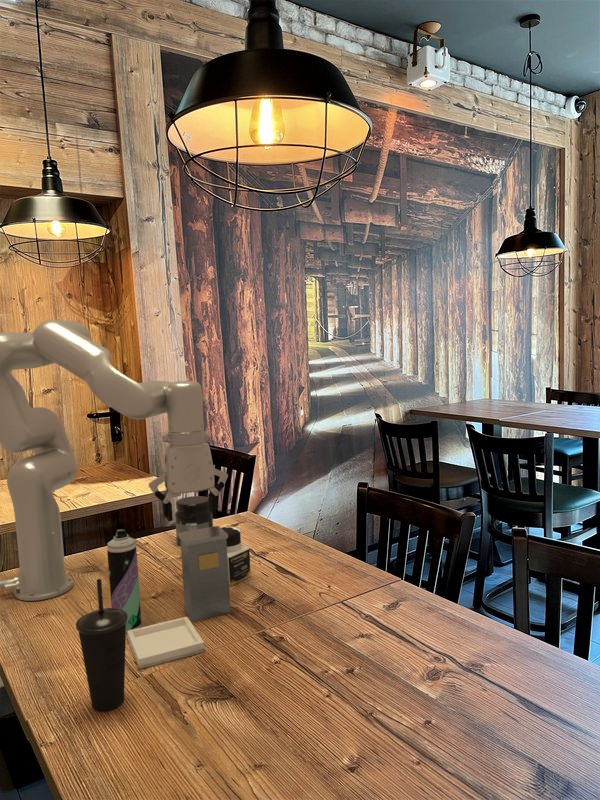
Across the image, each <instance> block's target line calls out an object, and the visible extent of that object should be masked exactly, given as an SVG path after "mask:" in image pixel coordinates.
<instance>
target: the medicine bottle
mask: <svg viewBox="0 0 600 800" xmlns="http://www.w3.org/2000/svg"><path fill="white" fill-rule="evenodd" d="M220 528H221V529H222V530H224V531H225V532H226V533H227V534H228V538H226V541H227V559H228V578H229V587H232V586H233V585H235V584H237V582H238V583H239V582H241V581H243V580H245V579H247V578H250V577H251V575H252V572H251V555H250V553H251V551H250V547H248V546H244V545H242V533H241V529H240V528H238V527H234V526H223V527H220Z"/></svg>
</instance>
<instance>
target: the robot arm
mask: <svg viewBox="0 0 600 800" xmlns="http://www.w3.org/2000/svg"><path fill="white" fill-rule="evenodd" d="M111 362H112V354H111V352H110V350H109V349H108V348H106V347H104V346H103V345H101V344H99V343H98V342H96V341H94V340H92V335H91V332H90V331H89V330H88V328H87V327H86V326H85V325H83V324H82V323H80V322H78V321H74V320H64V319H63V320H59V319H52V320H51V319H50V320H47V321H43V322H41V323H39V325H37V326H36V327H35V328H34V330H33V332H20V331H19V332H18V331H17V332H14V331H13V332H12V331H4V332H0V446H1V447H2V449H4V450H5V451H6V452H8V453H11V454H19V453H24V452H28V451H31V450H32V451H33V453H34V454H33V455H29V456H27V457H24V458H21V459H20V460H18V461H16V462H15V463H14V464H13V465H12V466H11V467H10V469H9V471H8V473H7V477H6V485H7V489H8V493H9V495H10V499H11V503H12V507H13V513H14V521H15V531H16V540H17V552H18V562H19V564H18V566H19V571H18V575H14V576H13V577H10V578H3V579H0V590H1V589H4V591H9V590H13V589H14V591H13V593H14V597H15V599H17V600H21V601H25V602H26V601H27V602H29V601H30V602H35V601H43V600H48V599H52V598H55V597H59V596H61V595H63V594H65V593H66V592H68V591H70V590H71V589H72V587H73V586H74V579H73V578H72V577H71V576H69V575H66V567H65V565H66V564H65V554H64V553H65V552H64V542H63V541H64V540H63V529H62V528H63V527H62V520H61V519H62V517H61V511H60V507H59V504H58V502H57V500H56V498H55V496H54V493H53V492H56V491H57V490H59V489H61V488H64V487H66V486H67V485H69V484H71V483H72V482H73V481H74V479H75V478H76V475H77V470H78V467H77V466H78V465H77V460H76V457H75V455H74V452H73V450H72V445H71V443H70V441H69V438H68V436H67V433H66V430H65V427H64V426H63V423H62V420H61V419H60V418H59V416H58V415H57V414H56V413H55V412H54V410H53V411H52V409H50V408H49V409H48V408H47V407H43V406H42V407H41V406H36V407H31V405H30V403H29V401H28V398H27V395H26V392H25V390H24V389H23V385H21V384H20V381H18V380H17V379H16V378H15V376H14V375H13V374H12V371H13V370H14V371H15V370H28V369H38V368H42V367H45V366H51V365H54V364H56V365H57V366H59V367H61V368H63V369H64V370H65V371H68V372H70V373H71V374H73V375H74V376H76V377H77V378H79V379H81V380H82V381H83V382H84V383H86V385H87V387H88V388H89V390H91V392H92V393H93V395H94V396H95V397H96V398H98V400H99V401H101V402H102V403H103V404H105V405H106V406H108V407H110V408H111V409H113V410H114V411H116V412H118V413H120V414H121V415H123V416H125V417H126V418H128V419H129V418H130V419H133V420H144V419H148V418H152V417H155V416H159V415H162V414H167V426H168V427H167V430H168V431H167V433H166V434H165V435H162V436H161V440H162V443H168V445H166V448H165V457H164V469H163V471H164V473H162V474H161V475H160V476H158V477H156V478H155V479H153V480H151V482H149V483H148V488H149V489H150V490H151V492H152V493H153V495H154V496H155V497H156V498H157V499H158V500H160V501H161V502H162V511H163V517H164V518H166V520H167V521H168V522H173V520H174V519H173V505H172V502H171V499H172V498H173V496H174V495H182V494H188V493H190V494H191V493H195V492H202V491H209V493H208V495H207V497H208V502H209V511H210V512H211V513H212V515H216V514H217V510H218V508H219V504H218V503H219V502H218V496H219V495H220V492H221V491H222V489H223V488H224V487H225V484H226V482H227V479H228V477H229V474H228V473H227V472H224V471H222V470H219V469H217V468H214V463H213V458H212V452H211V447H210V445H209V443H208V442H206V441H205V428H204V427H205V425H204V408H203V391H202V386H201V384H200V382H198V381H194V380H185V381H184V380H183V381H173V382H172V381H163V380H150V381H149V380H148V381H143V382H137V381H135V380H133V379H132V378H130V377H128V376H127V375H125V374H124V373H122V372H121V371H119V370H117V368H115V367H114V366H113V364H112V363H111ZM215 476H217V477H219V479H218V481H217V483H216V482H215V481H216V480H215ZM163 483H164V486H165V490H164V491H163V493H162V492H161V491H160V489H158V487H159V485H162V484H163Z"/></svg>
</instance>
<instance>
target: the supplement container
mask: <svg viewBox="0 0 600 800" xmlns="http://www.w3.org/2000/svg"><path fill="white" fill-rule="evenodd" d="M175 509H176V511H175V513H174V517H175V533H176V534H175V535H176V537H175V539H176V542H177V544H178V545H180V546H181V540H180V538H179V537H178V533H180V532H186V531H191V530H197V529H202V528H208V527H214V523H213V522H214V521H213V520H214V519H213V517H214V516H213V514H212V513H211V512H210V511H209V502H208V496H205V495H204V496H203V495H202V496H201V495H194V496H192V495H191V496H185V497H181V498H180V499H177V500H176V502H175Z"/></svg>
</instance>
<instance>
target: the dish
mask: <svg viewBox="0 0 600 800" xmlns="http://www.w3.org/2000/svg"><path fill="white" fill-rule="evenodd" d="M126 635H127V641H128V643H129V646H130V649H131V651H132V654H133V656H134V659H135V661H136V664H137V667H138V669H139V670H141V669H145V668H149V667H154V666H156V665H160V664H164V663H168V662H172V661H174V660H175V661H176V660H179V659H183V658H186V657H189V656H194V655H197V654H202V653H205V642H204V640H203V639H202V637H201V636H200V634H199V632H198V631H197V629H196V628H195V627H194V625H193V622H192V621H191V619H190V618H189V616H183V617H180V618H176V619H172V620H167V621H163V622H159V623H154V624H149V625H147V626H141V628H137V629H133V630H129V631H127V634H126Z"/></svg>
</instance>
